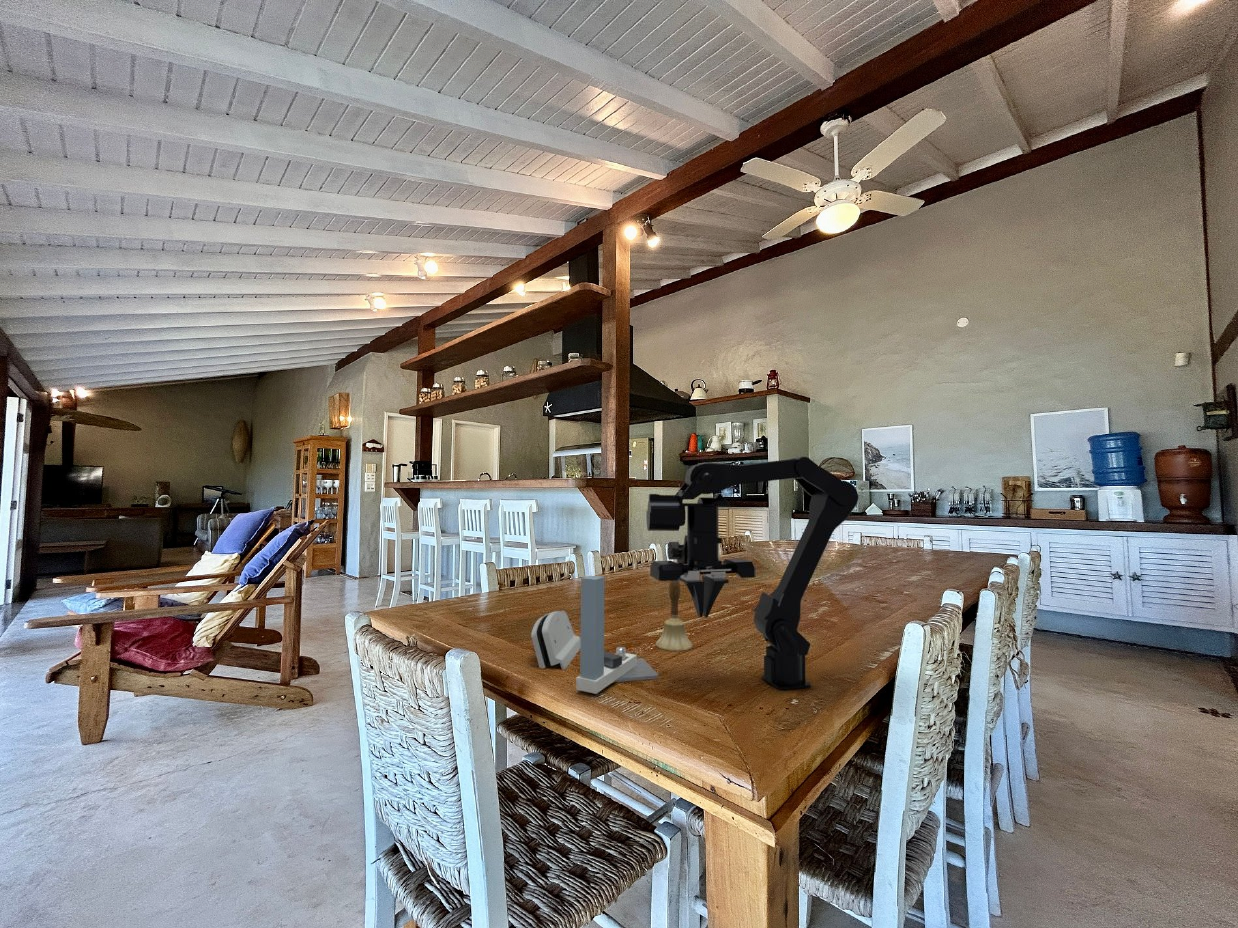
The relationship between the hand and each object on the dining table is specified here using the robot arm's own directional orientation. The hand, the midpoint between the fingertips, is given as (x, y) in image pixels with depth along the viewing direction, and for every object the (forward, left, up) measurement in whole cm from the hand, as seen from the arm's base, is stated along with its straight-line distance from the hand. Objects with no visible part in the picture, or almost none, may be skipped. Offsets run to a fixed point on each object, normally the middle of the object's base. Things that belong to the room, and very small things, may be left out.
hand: (702, 616), depth 94 cm
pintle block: (+13, -9, -12) cm, 20 cm away
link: (+16, -6, -11) cm, 21 cm away
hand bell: (-3, -23, -12) cm, 26 cm away
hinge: (+24, -22, -12) cm, 35 cm away
